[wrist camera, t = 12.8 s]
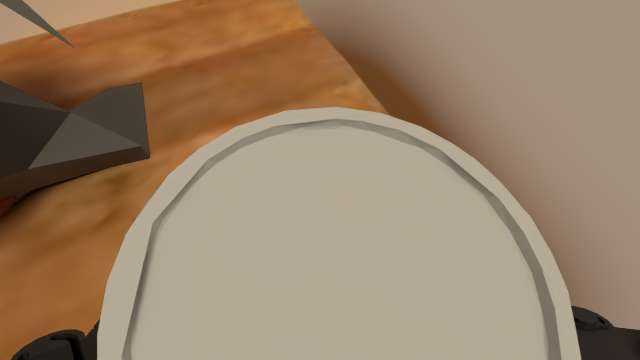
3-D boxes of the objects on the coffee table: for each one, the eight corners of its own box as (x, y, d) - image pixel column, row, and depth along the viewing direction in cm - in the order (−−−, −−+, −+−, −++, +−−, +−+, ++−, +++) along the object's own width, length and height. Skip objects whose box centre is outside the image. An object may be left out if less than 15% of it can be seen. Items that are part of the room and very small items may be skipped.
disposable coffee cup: (277, 219, 20) (267, 45, 9) (429, 300, 18) (621, 199, 8) (165, 388, 15) (-97, 413, 5) (356, 518, 13) (595, 995, 3)
